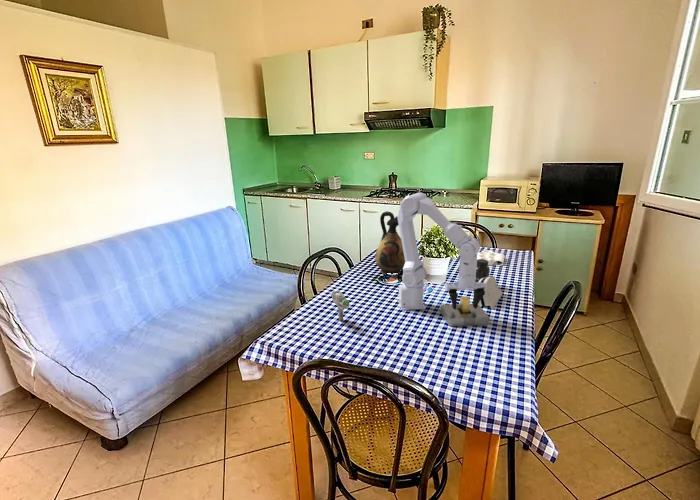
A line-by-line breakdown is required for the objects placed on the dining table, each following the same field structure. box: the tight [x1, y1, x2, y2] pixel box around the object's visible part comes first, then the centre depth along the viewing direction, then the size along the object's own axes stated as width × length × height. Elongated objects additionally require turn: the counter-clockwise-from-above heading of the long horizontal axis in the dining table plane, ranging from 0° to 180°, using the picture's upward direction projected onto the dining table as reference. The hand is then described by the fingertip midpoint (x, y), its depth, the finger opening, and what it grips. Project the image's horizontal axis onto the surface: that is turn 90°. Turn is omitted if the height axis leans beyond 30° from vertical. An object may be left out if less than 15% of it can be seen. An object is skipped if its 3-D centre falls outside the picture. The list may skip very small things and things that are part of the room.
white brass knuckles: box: [476, 249, 506, 267], centre depth 193 cm, size 3×18×15 cm
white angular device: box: [478, 276, 503, 310], centre depth 148 cm, size 17×5×10 cm, turn 145°
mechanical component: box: [331, 290, 350, 322], centre depth 133 cm, size 3×10×10 cm, turn 27°
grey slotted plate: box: [440, 303, 490, 327], centre depth 134 cm, size 14×11×3 cm
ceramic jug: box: [374, 210, 405, 275], centre depth 176 cm, size 17×15×30 cm
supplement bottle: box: [475, 259, 491, 282], centre depth 160 cm, size 7×7×12 cm
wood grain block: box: [459, 295, 471, 314], centre depth 133 cm, size 2×3×8 cm
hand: (464, 307), depth 133 cm, fingers open, 7 cm apart
